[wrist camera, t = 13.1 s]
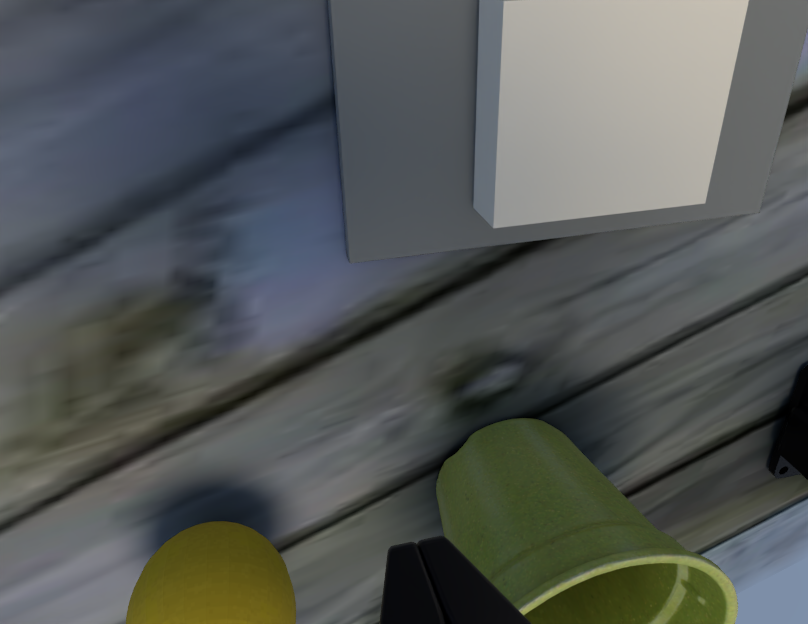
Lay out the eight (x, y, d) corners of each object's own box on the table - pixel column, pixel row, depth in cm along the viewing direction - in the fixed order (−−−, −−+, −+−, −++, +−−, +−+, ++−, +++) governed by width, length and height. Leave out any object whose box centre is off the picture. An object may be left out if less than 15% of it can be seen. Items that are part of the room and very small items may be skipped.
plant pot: (597, 522, 31) (714, 702, 23) (405, 572, 29) (466, 782, 22) (612, 360, 26) (764, 522, 19) (384, 411, 25) (452, 609, 17)
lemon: (303, 485, 25) (331, 681, 19) (264, 583, 27) (276, 791, 21) (156, 466, 23) (127, 679, 17) (125, 574, 25) (89, 802, 19)
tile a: (477, -4, 18) (704, -15, 19) (471, 205, 21) (668, 183, 22) (503, 1, 16) (751, -11, 17) (493, 228, 19) (705, 203, 20)
